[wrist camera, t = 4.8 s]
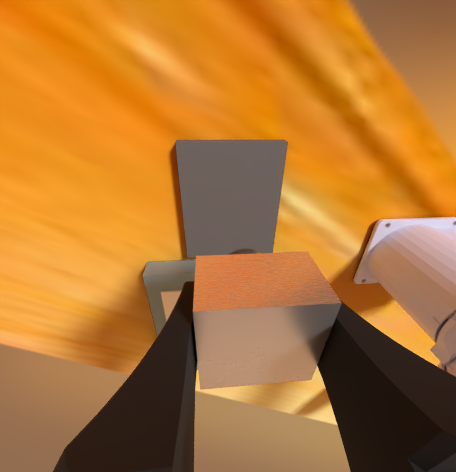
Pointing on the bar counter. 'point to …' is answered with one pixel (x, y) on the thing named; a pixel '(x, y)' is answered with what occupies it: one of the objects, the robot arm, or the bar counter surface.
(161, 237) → the bar counter surface
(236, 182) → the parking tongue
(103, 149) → the bar counter surface
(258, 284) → the tan cubic block
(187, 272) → the hole plate
